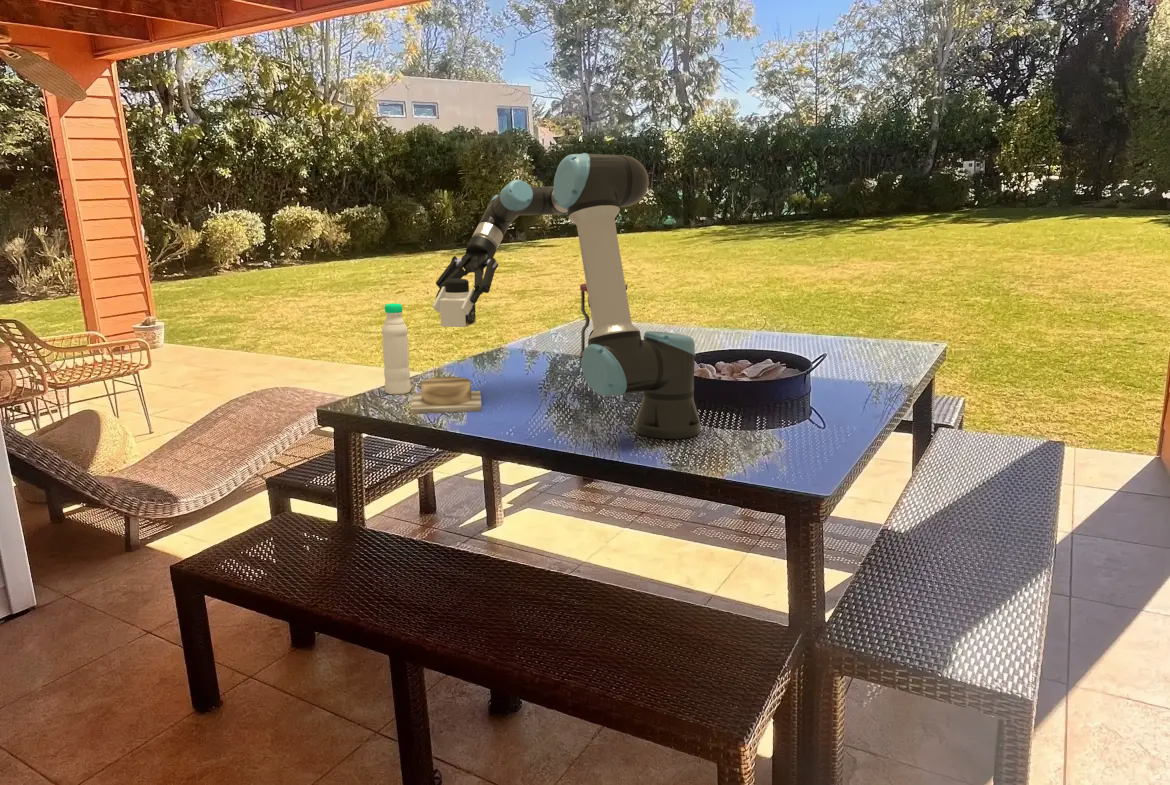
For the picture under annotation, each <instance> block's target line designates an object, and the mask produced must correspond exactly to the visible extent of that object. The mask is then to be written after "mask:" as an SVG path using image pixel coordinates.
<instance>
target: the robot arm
mask: <svg viewBox="0 0 1170 785" xmlns="http://www.w3.org/2000/svg"><path fill="white" fill-rule="evenodd" d="M558 164H559V165H558V166H557V167H556V168H557V169H556V172H555V175H554V179H553V186H536V185H535V186H531V185H530V183H527V182H526V181H523V179H512V181H511V180H510V182H508V183H507V184H506V185H505V186H504V187H503V188H502V189H501V191H500V192H499V193H498V194H495V195H493V196H492V198H491V200H490V202H488V204H487V205H486V206H487V208H486V209H485V211H484V213H483V216H482V217H481V219H480V221H479V223H478V225H477V226H476V229H475V230H474V232H473V234H472V235H471V238H470V240H469V242H468V243H467V246H466V249H465V254H464V255H462V257H459V258H458V257H457V256H456V255H454V256H452V258H451V261H450V262H449V264H448V265H447V267H446V268H445V270H444V271H443V272H442V274H441V275H440V276H439V278H438V279H437V280H436V282H435V285H436V287H438V289H439V290H438V291H437V293H436V295H435V298H436V299H435V300H434V302H433V304H432V308H433V309H434V311H436V313H440V299H442V298H445V297H447V295H446V293H445V281H446V280H448V279H455V278H460V279H463V277H467V275H469V274H470V273H474V284H473V287H472V288H469V293H468V295H467V297H466V299H465V301H464V303H463V305H462V307H461V309H462V310H463V312H464V313H465V315H468V314H469V312H470V310H471V308H472V306H473V304H474V303H475V304H476V303H477V301H478V300H479V299H480V296H481V295H482V294H483V293H485V294H488V293H489V292H490V290H491V286H492V283H493V280H494V276H495V272H496V270H497V268H499V263H498V261H497V260H496V258H495V254H496V252H497V250H498V248H499V246H500V245H501V242H502V240H503V239H504V236H505V234H506V233H507V230H508V229H509V227H510V225H511V224H512V223H513V222H514V221H515V220H516V219H517V218H518V217H519V216H547V215H548V216H550V215H551V216H566V215H567V217H568V220H569V221H571V222H572V223H573V224H574V225H576V229H577V230H576V231H577V235H578V241H579V248H580V254H581V260H582V266H583V272H584V279H585V284H586V286H587V291H586V293H587V292H588V293H587V299H588V298H589V304H590V307H589V309H590V315H591V322H592V328H593V329H594V330H593V329H592V330H593V332H592V334H591V335H590V334H589V335H590V337H589V336H588V338H587V339H588V340H589V346H588V345H587V346H585V349H584V351H583V354H582V356H583V358H581V369H582V373H583V376H584V379H585V381H586V383H587V385H588V386H589V387H590V388H591V389H592V390H593V392H594V393H595V394H597V395H600V396H602V397H612V396H615V397H619V396H622V395H627V394H635V393H641V392H642V393H643V394H642V395H643V398H642V401H641V404H640V407H639V409H638V413H637V416H636V419H635V432H636V433H638V434H639V435H642V436H644V437H649V438H654V439H660V440H661V439H662V440H678V439H679V440H680V439H687V438H692V437H695V436H697V435H699V434H700V432H701V421H700V416H699V414H698V409H697V407H696V403H695V400H694V392H695V391H694V390H695V388H694V387H695V367H696V366H695V364H696V362H695V361H696V350H695V344H696V343H695V340H694V339H693V338H692V337H691V336H689V335H685V334H681V333H674V332H667V331H657V330H655V331H654V330H651V331H650V330H649V331H646V332H644V334H643V336H641V330H640V329H639V328H638V327H636V326H635V325H634V324H633V323H632V319H631V318H632V317H631V311H630V305H629V299H628V293H627V290H626V286H625V284H626V282H625V275H624V269H623V262H622V256H621V250H620V245H619V244H620V243H619V237H618V231H617V226H616V220H615V219H616V217H617V216H618V214H619V213H620V211H621V210H620V208H627V207H631V206H634V205H636V204H637V203H639V202H640V201H641V200H643V199H644V197H645V195H646V194H647V191H648V189H649V182H650V181H649V175H648V172H647V170H646V167H644V165H643V163H641V161H639V160H637V159H636V158H634V157H632V156H630V155H625V154H601V153H600V154H598V153H594V154H593V153H587V152H582V153H573V154H568V155H566V156H565V157H564V158H563V159H562V160H561V161H560V162H559V163H558ZM484 270H485V271H484ZM589 304H588V305H589ZM642 337H643V339H642ZM588 340H587V341H588Z"/></svg>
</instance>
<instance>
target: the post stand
mask: <svg viewBox="0 0 1170 785" xmlns="http://www.w3.org/2000/svg"><path fill="white" fill-rule="evenodd" d="M471 381H472V380H470V379H469V378H466V377H458V376H439V377H432V378H428V379H424V380H422V381H421V382H420V387H421V388H420V390H421V391H420V392H414V393H413V396H412V401H411V404H410V406H409V414H412V415H413V414H433V413H434V414H436V413H437V414H440V413H441V414H442V413H465V412H468V413H469V412H482V397H481V390H473V391H472V382H471Z"/></svg>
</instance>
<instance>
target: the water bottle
mask: <svg viewBox="0 0 1170 785" xmlns="http://www.w3.org/2000/svg"><path fill="white" fill-rule="evenodd" d="M384 313H385V316H386V319H385V320H384V324H383V325H382V328H381V335H382V358H383V365H384V368H383V373H384V374H383V377H384V392H385V393H386V394H388V395H392V396H393V395H395V396H396V395H405V394H409V393H410V391H411V389H412V388H411V380H410V378H411V377H410V375H411V372H410V367H409V365H410V362H409V360H410V354H409V352H410V351H409V340H408V332H409V330H408V327H407V325H406V323H405V321H404V319H403V317H402V314H403V305H402V303H397V302H396V303H395V302H394V303H387V304H384Z"/></svg>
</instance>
